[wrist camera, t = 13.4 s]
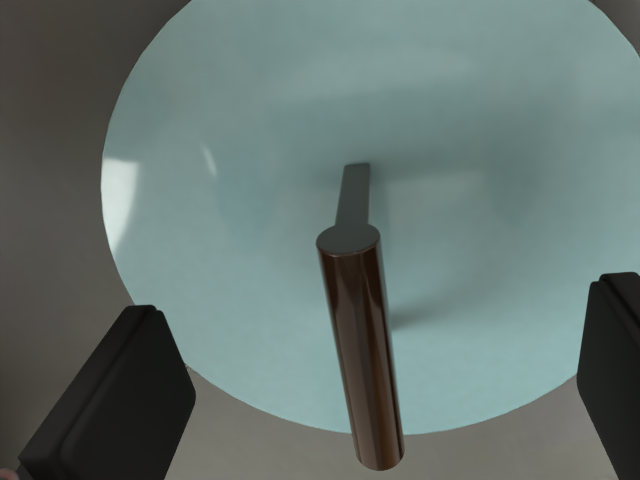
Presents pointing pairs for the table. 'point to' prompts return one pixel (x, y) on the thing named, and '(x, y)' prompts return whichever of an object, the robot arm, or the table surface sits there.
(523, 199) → the lid
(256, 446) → the table surface
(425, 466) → the table surface
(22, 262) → the table surface
